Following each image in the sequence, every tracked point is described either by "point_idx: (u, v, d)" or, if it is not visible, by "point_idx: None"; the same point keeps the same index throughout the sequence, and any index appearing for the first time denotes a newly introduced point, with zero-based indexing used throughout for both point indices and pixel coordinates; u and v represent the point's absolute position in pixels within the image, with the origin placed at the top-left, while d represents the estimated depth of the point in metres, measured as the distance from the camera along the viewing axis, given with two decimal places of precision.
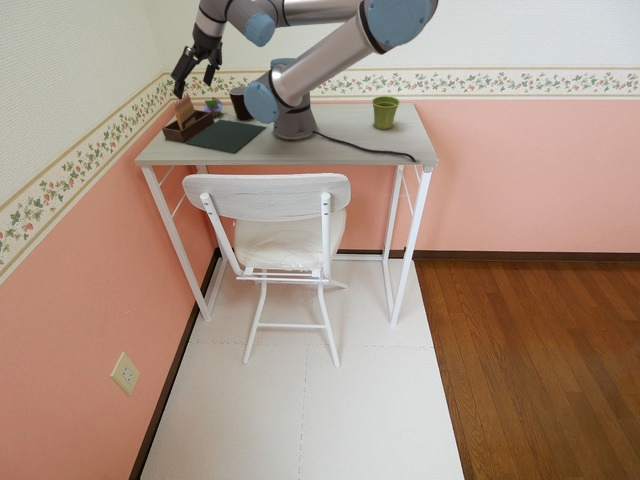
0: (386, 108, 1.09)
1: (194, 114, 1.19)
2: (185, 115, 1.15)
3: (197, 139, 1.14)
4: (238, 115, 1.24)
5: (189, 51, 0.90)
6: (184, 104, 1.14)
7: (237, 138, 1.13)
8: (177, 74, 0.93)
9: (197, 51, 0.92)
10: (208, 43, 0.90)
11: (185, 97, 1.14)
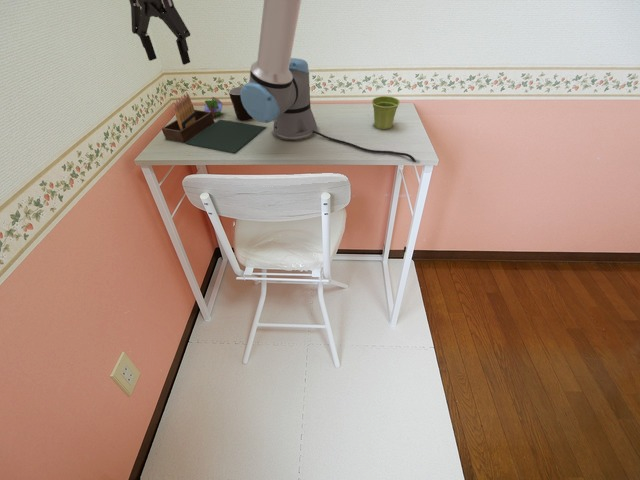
0: (386, 108, 1.09)
1: (194, 114, 1.19)
2: (185, 115, 1.15)
3: (197, 139, 1.14)
4: (238, 115, 1.24)
5: None
6: (184, 104, 1.14)
7: (237, 138, 1.13)
8: None
9: (137, 0, 0.94)
10: None
11: (185, 97, 1.14)
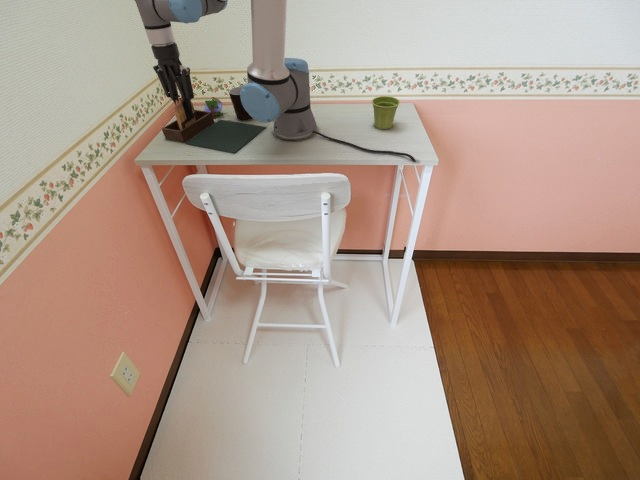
0: (386, 108, 1.09)
1: (194, 114, 1.19)
2: (185, 115, 1.15)
3: (197, 139, 1.14)
4: (238, 115, 1.24)
5: None
6: None
7: (237, 138, 1.13)
8: None
9: None
10: None
11: None
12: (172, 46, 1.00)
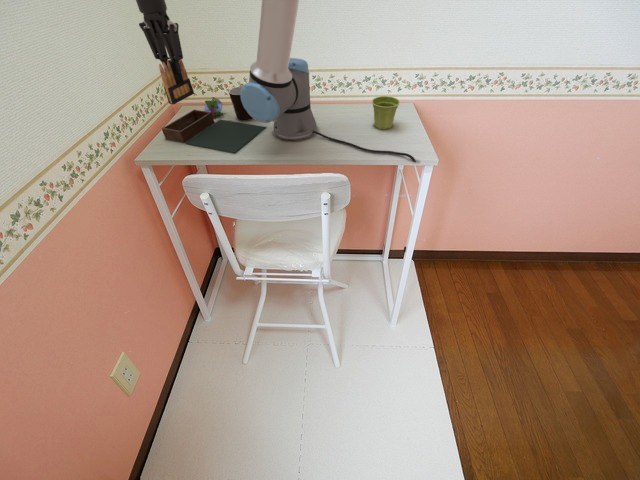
0: (386, 108, 1.09)
1: (187, 81, 1.11)
2: (174, 80, 1.07)
3: (197, 139, 1.14)
4: (238, 115, 1.24)
5: None
6: None
7: (237, 138, 1.13)
8: None
9: None
10: (137, 4, 0.93)
11: None
12: None
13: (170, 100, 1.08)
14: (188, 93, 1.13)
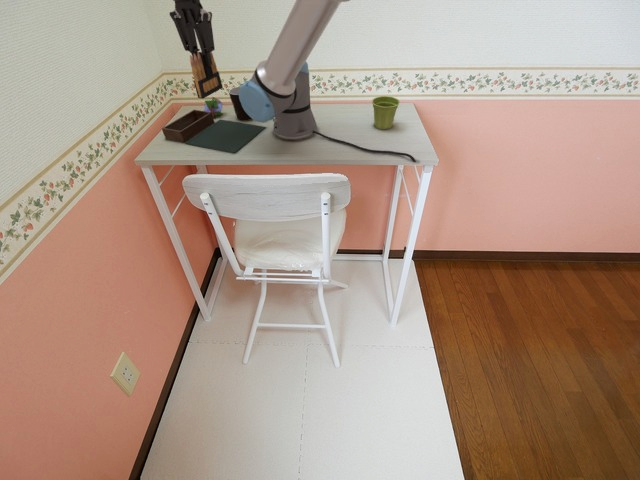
0: (386, 108, 1.09)
1: (216, 74, 1.06)
2: (204, 73, 1.01)
3: (197, 139, 1.14)
4: (238, 115, 1.24)
5: None
6: None
7: (237, 138, 1.13)
8: None
9: (175, 7, 0.92)
10: None
11: None
12: None
13: (199, 94, 1.02)
14: (217, 87, 1.07)
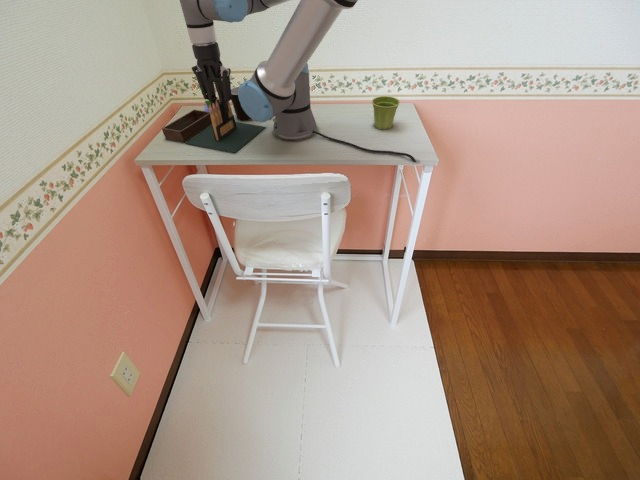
0: (386, 108, 1.09)
1: (231, 118, 1.15)
2: (221, 118, 1.10)
3: (197, 139, 1.14)
4: (238, 115, 1.24)
5: None
6: None
7: (237, 138, 1.13)
8: None
9: (197, 63, 1.01)
10: (193, 51, 0.97)
11: None
12: (214, 46, 0.95)
13: (217, 137, 1.11)
14: (232, 129, 1.17)
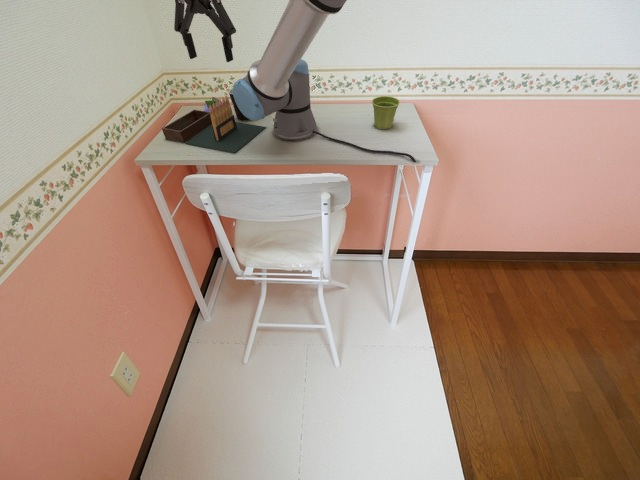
0: (386, 108, 1.09)
1: (232, 118, 1.15)
2: (221, 119, 1.10)
3: (197, 139, 1.14)
4: (238, 115, 1.24)
5: None
6: (221, 107, 1.10)
7: (237, 138, 1.13)
8: None
9: None
10: None
11: (223, 100, 1.10)
12: None
13: (217, 137, 1.11)
14: (232, 129, 1.17)
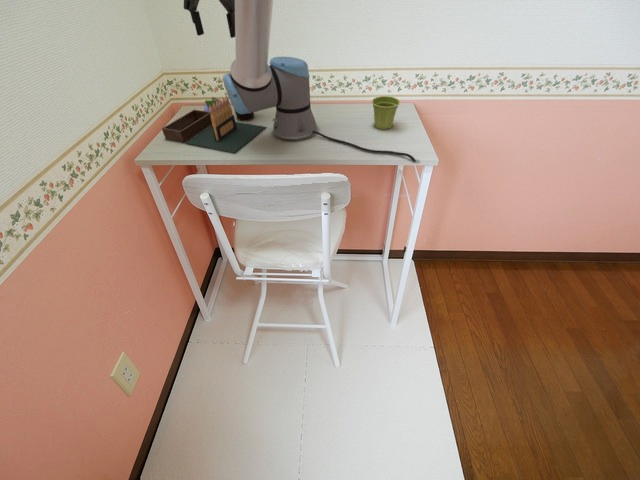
0: (386, 108, 1.09)
1: (232, 118, 1.15)
2: (221, 119, 1.10)
3: (197, 139, 1.14)
4: (238, 115, 1.24)
5: None
6: (221, 107, 1.10)
7: (237, 138, 1.13)
8: None
9: None
10: None
11: (223, 100, 1.10)
12: None
13: (217, 137, 1.11)
14: (232, 129, 1.17)
